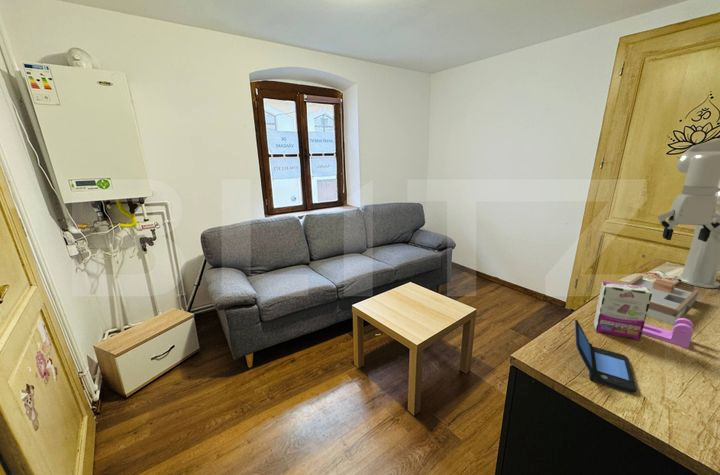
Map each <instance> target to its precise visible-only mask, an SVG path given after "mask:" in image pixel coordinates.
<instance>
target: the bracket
mask: <svg viewBox="0 0 720 475" xmlns="http://www.w3.org/2000/svg"><path fill="white" fill-rule="evenodd" d="M642 335H643V336H648V337H650V338H654V339H657V340H660V341H663V342H666V343H670V344H672V345H676V346H679V347H683V348H686V349H688V348H689V345H690V343H691V340H692V338H693V335H694V323H693V322H692V321H691V320H690V319H688V318H685V317H680V318H679V319H677V320H676V321H675V323H674V324H673V327H672V330H669V329H664V328H661V327H658V326H654V325H650V324H647V323H646V322H645V323H644V327H643V331H642Z"/></svg>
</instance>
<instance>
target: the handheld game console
mask: <svg viewBox="0 0 720 475" xmlns="http://www.w3.org/2000/svg"><path fill="white" fill-rule="evenodd" d="M574 326H575V327H574V328H575V329H574V330H575V331H574V332H575V336H574V337H575V346H576V349H577V351H578V353H579V355H580V357H581V359H582V360H583V363H584V365H585V366H586V368H587V370H588V373H589V375H588V376H589V377H588V378H589V380H590V381H591V382H593V381H594V382H597V383H601V384H603V385H606V386H609V387H612V388H615V389H618V390H621V391H625V392H628V393H632V394H634V393H637V390H638V388H637V385H636V382H635V378H634V374H633V369H632V367H631V364H630V359H629V358H628V356H626V355H625V354H622V353H619V352H615V351H612V350H608V349H603V348H601V347H597V346H593V344H592V343H590V341H589V340H588V338H587V336H586V334H585V332H584V330H583V328H582V326H581V325H580V323H579V320H578V319H575V320H574Z"/></svg>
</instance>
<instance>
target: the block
mask: <svg viewBox="0 0 720 475" xmlns="http://www.w3.org/2000/svg"><path fill="white" fill-rule="evenodd" d="M653 282H654V284H653V287H652V288H653V289H656V290H660V291H664V292H667V293H671V292H672V291H673V290H674V288H676V284H677V282H674V281H672V280H671V281H670V280H666V279H662V278H657V279H656V280H653Z"/></svg>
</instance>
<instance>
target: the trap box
mask: <svg viewBox="0 0 720 475" xmlns="http://www.w3.org/2000/svg"><path fill="white" fill-rule="evenodd" d="M643 278H644V275H639V276H637V277H636V278H634V279H632V280H631V281H630V282H628V283H627V284H628V285H636V286H643V287H647V288H648V289H649V290H650V291H651V292H652V297H651V300H650V304H649V308H648V312H647V315H646V317H648V318H651V319H655V320H656V321H660V322H663V323H666V324H669V325H672V326H674V324H675V321H676V320H677V319H679V318H682V316H683V315H685V313H686V312H687V311H688V310H689V309H690V308H691V307H692V306H693V305H694V304H695V303H696V301H697V299H698V296H699V293H700V290H699V289H697V288H696V289H694V290H693V291H689V290H684V289H681V288H678V287H675V288H674V290H673V291H672V292H671V293H667V292H664V291H660V290H656V289H653V288H652V287H653V284H654V281H651V280H647V279H643Z"/></svg>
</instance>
